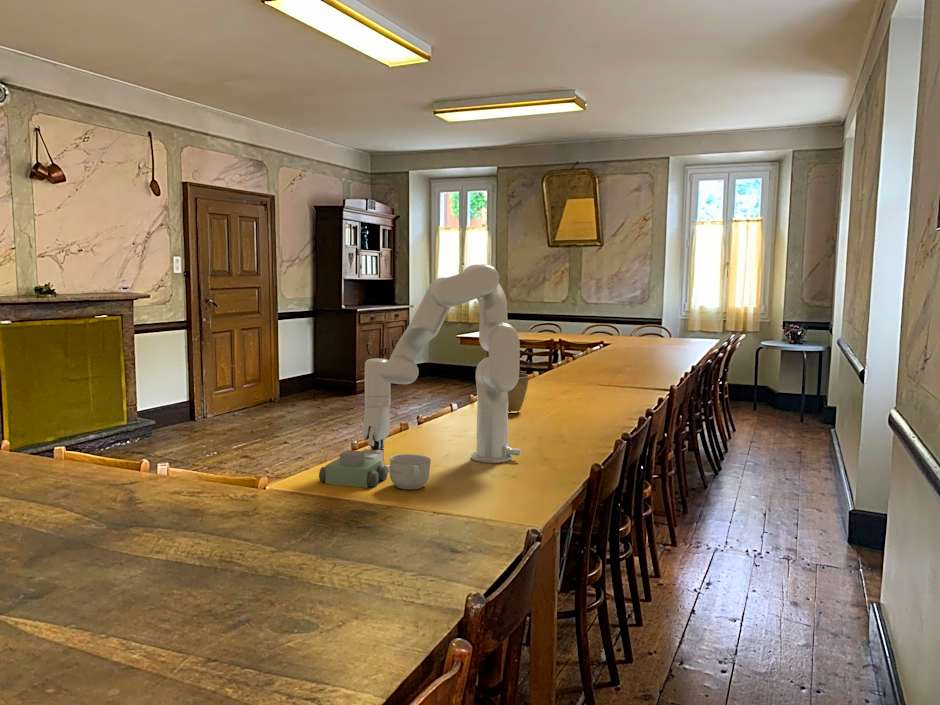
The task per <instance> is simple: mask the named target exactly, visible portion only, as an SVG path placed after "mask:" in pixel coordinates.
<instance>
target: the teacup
mask: <svg viewBox="0 0 940 705" xmlns="http://www.w3.org/2000/svg"><path fill="white" fill-rule="evenodd" d="M431 461H432V459H431V458H430V457H429V456H426V455H421V454H410V453H403V454H402V453H401V454H395V455H391V456H389V465H390V471H389V478H390V481H391V482H392V483H393V484H394V485H395V486H396V487H397V488H399V489H402V490H418V489H421V488H422V487H423V486H425V485H426V484H427V483H428V481H429V478H430V471H431Z"/></svg>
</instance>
